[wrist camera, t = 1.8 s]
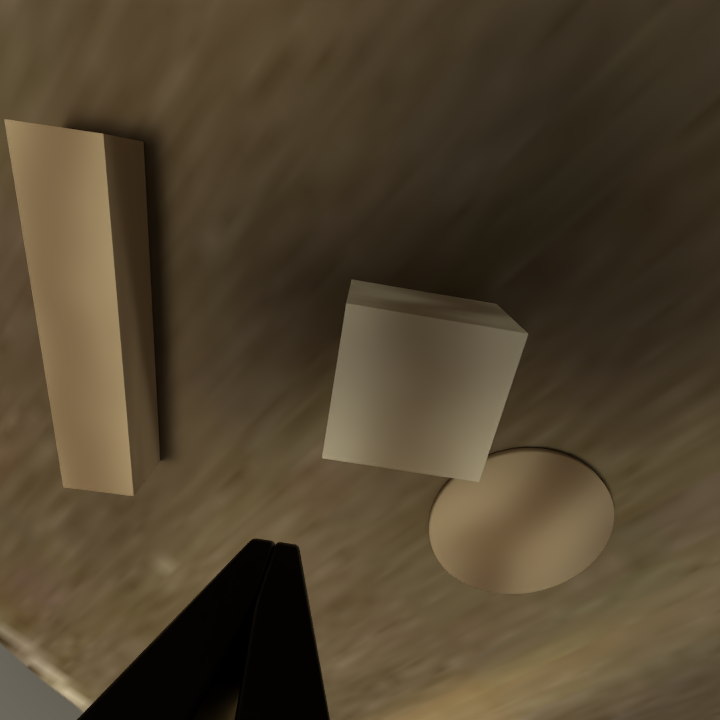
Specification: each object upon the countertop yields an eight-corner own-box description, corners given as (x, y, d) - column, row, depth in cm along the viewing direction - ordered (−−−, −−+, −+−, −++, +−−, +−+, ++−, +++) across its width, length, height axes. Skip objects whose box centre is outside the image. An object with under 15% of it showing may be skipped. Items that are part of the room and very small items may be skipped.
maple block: (495, 302, 18) (528, 333, 14) (458, 427, 20) (479, 482, 16) (351, 278, 17) (346, 303, 14) (331, 406, 20) (321, 458, 16)
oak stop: (143, 141, 15) (103, 133, 13) (160, 461, 21) (133, 495, 18) (59, 129, 15) (4, 119, 13) (98, 453, 21) (63, 487, 18)
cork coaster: (638, 460, 20) (643, 466, 20) (575, 596, 23) (578, 603, 23) (449, 436, 20) (450, 440, 19) (413, 576, 23) (414, 582, 23)
